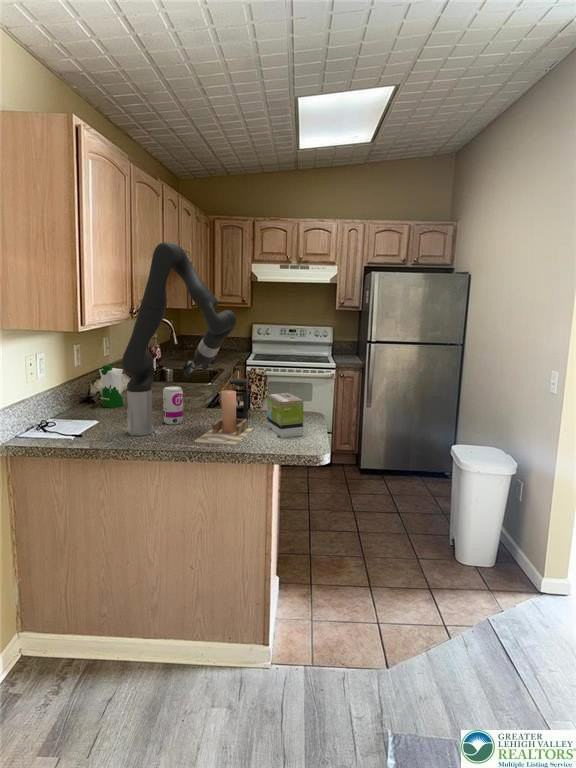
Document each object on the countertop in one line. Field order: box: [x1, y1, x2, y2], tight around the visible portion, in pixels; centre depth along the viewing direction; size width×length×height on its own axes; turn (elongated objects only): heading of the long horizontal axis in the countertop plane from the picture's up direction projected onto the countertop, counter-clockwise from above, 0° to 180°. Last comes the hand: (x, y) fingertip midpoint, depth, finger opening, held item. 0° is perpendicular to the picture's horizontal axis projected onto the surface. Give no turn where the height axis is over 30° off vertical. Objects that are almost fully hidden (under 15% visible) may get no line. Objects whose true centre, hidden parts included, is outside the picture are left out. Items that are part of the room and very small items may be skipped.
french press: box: [227, 365, 251, 419], centre depth 237 cm, size 12×9×23 cm
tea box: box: [266, 392, 304, 439], centre depth 214 cm, size 15×10×15 cm, turn 24°
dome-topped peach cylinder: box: [221, 389, 237, 433], centre depth 212 cm, size 8×6×16 cm
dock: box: [193, 417, 255, 446], centre depth 207 cm, size 25×16×4 cm, turn 167°
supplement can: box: [162, 386, 184, 425], centre depth 228 cm, size 8×8×15 cm
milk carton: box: [99, 364, 124, 409], centre depth 257 cm, size 9×9×20 cm
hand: (195, 372), depth 217 cm, fingers open, 8 cm apart
